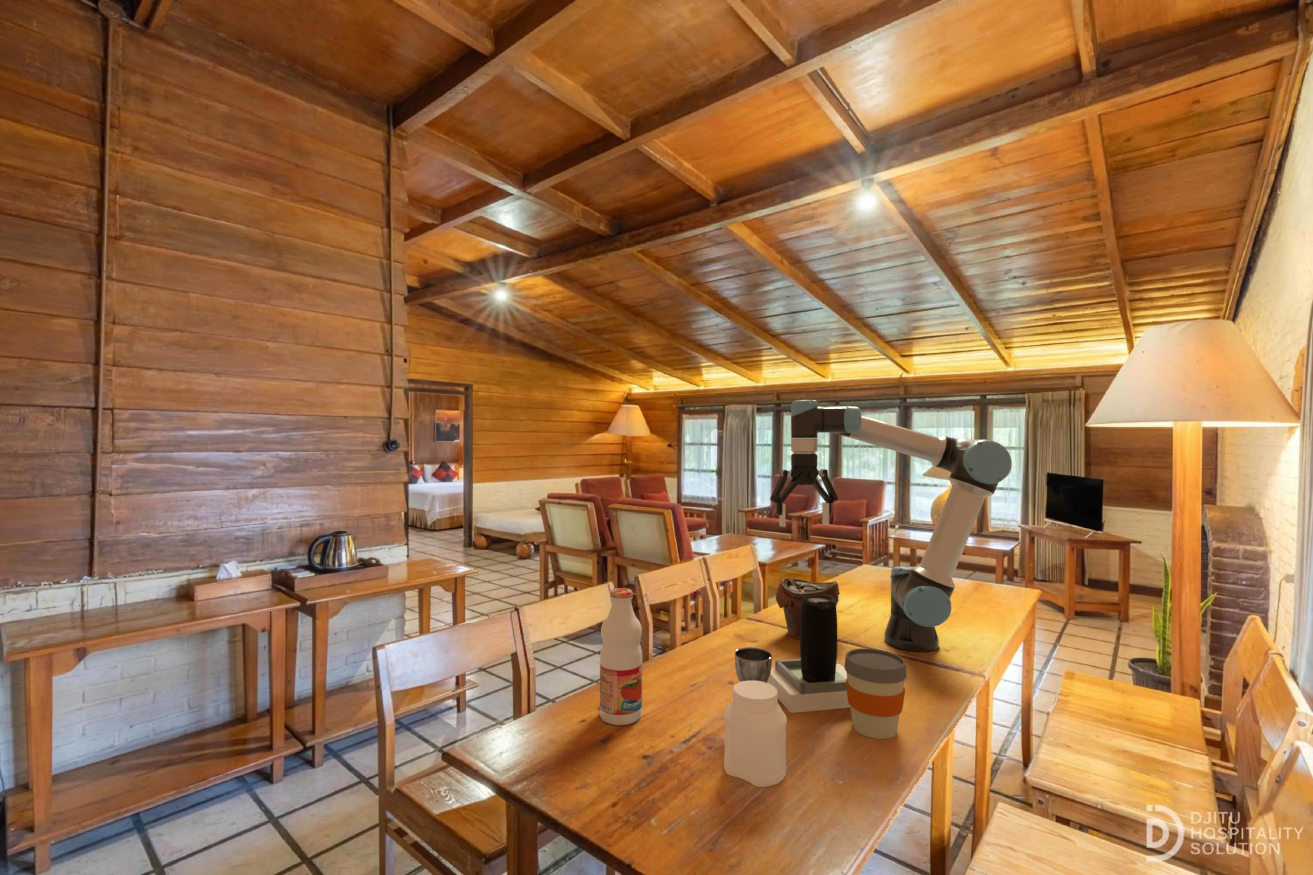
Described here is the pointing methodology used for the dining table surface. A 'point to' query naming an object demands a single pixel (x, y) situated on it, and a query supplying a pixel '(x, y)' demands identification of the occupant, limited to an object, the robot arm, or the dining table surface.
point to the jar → (755, 734)
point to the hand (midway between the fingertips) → (804, 525)
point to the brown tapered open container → (800, 599)
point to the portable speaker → (818, 638)
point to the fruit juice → (621, 662)
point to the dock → (808, 688)
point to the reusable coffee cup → (875, 691)
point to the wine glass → (753, 664)
